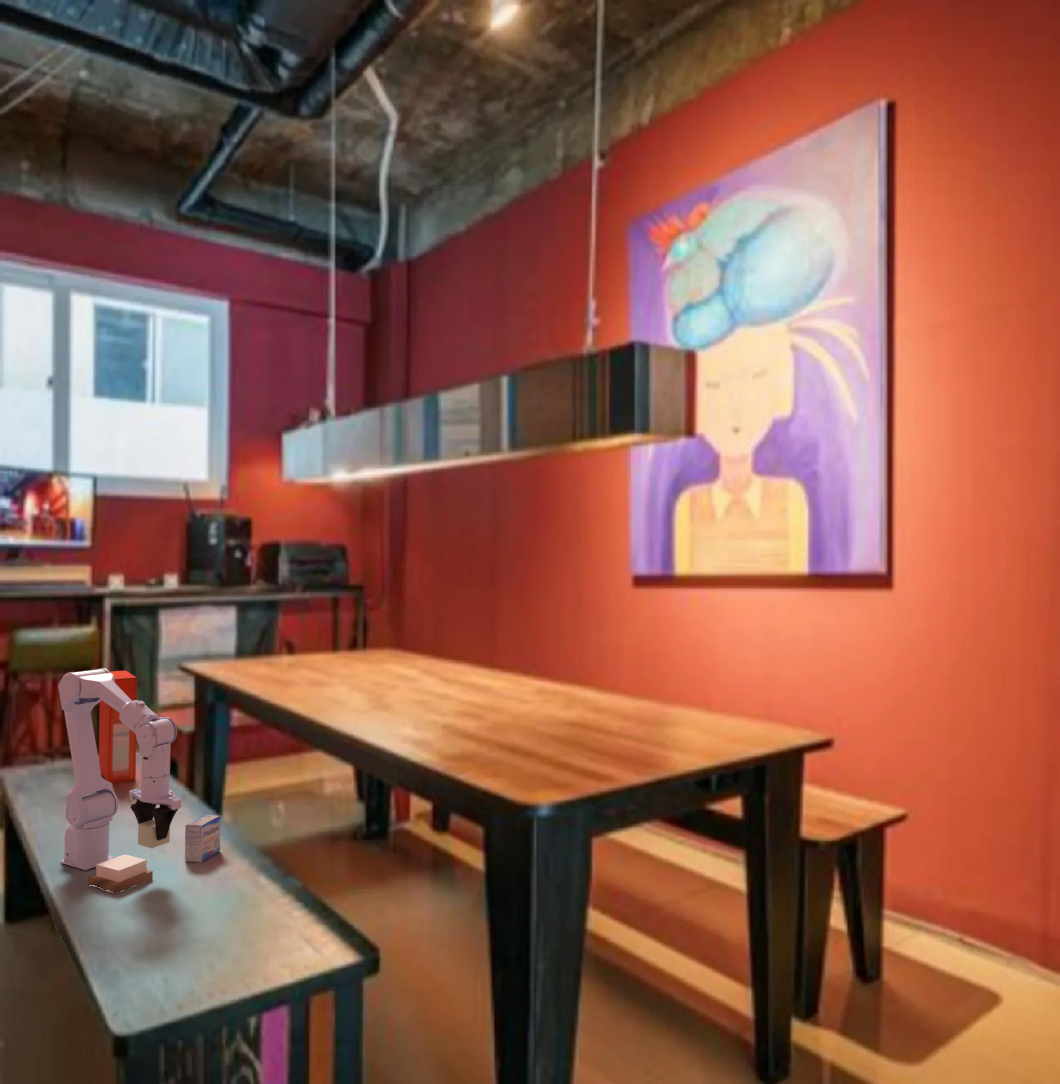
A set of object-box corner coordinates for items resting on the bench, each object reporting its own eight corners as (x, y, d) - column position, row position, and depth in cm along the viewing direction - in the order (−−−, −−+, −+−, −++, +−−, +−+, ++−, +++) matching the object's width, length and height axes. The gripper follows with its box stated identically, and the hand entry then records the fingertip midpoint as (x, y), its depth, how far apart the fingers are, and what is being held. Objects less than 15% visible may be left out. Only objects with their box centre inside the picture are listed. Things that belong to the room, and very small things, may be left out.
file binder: (106, 783, 257) (109, 679, 257) (97, 771, 271) (100, 672, 271) (135, 779, 261) (137, 677, 262) (125, 767, 275) (127, 670, 276)
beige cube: (137, 844, 183) (138, 824, 183) (155, 838, 187) (156, 818, 187) (151, 848, 181) (152, 827, 181) (169, 842, 185) (169, 821, 185)
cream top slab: (96, 876, 180) (96, 864, 180) (124, 865, 186) (124, 854, 186) (118, 882, 177) (118, 870, 177) (146, 871, 183) (146, 860, 183)
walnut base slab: (88, 888, 180) (88, 876, 180) (125, 874, 188) (125, 863, 188) (115, 897, 175) (115, 885, 175) (152, 882, 183) (152, 871, 183)
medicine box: (201, 863, 193) (202, 825, 194) (184, 861, 194) (184, 824, 194) (220, 851, 201) (221, 815, 201) (203, 850, 202) (204, 814, 202)
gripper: (193, 775, 184) (191, 837, 184) (149, 766, 191) (147, 826, 191) (166, 783, 178) (164, 847, 178) (121, 773, 184) (119, 835, 184)
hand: (153, 836), depth 184 cm, fingers closed on beige cube, 4 cm apart
